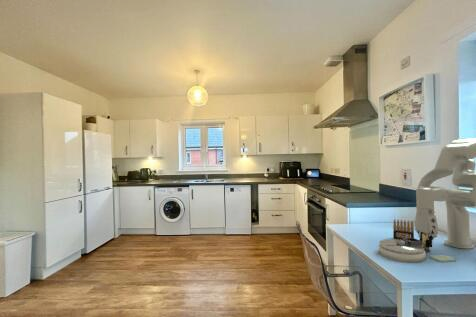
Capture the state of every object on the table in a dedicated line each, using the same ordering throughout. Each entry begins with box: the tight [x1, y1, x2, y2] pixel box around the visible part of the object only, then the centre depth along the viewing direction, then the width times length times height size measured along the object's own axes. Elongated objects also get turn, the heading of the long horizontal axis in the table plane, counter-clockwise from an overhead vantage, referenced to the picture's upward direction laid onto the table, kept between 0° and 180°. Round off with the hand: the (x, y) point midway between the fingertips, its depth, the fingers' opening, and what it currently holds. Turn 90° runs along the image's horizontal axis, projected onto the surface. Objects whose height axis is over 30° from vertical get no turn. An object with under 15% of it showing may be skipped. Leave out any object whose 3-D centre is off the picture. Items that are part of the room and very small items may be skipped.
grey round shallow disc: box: [379, 237, 424, 254], centre depth 132 cm, size 19×19×4 cm
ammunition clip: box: [392, 218, 415, 240], centre depth 158 cm, size 11×2×12 cm, turn 58°
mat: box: [429, 254, 457, 263], centre depth 126 cm, size 8×6×1 cm
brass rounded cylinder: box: [422, 233, 431, 253], centre depth 138 cm, size 3×3×9 cm
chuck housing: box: [378, 243, 427, 264], centre depth 132 cm, size 20×20×3 cm
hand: (426, 245), depth 138 cm, fingers closed on brass rounded cylinder, 3 cm apart
